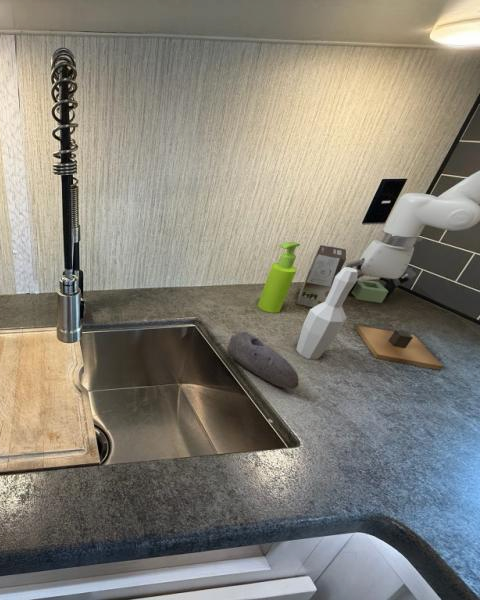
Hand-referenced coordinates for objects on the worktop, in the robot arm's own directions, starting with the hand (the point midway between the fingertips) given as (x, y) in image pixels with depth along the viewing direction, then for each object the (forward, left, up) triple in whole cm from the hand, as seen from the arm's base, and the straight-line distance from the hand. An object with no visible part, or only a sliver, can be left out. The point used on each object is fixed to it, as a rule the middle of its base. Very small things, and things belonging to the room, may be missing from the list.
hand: (366, 292), depth 97 cm
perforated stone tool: (+36, +48, -2) cm, 60 cm away
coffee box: (+17, +9, -2) cm, 19 cm away
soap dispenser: (+30, +18, -2) cm, 35 cm away
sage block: (0, 0, -1) cm, 1 cm away
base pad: (+3, +28, -1) cm, 28 cm away
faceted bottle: (+24, +37, -2) cm, 44 cm away
